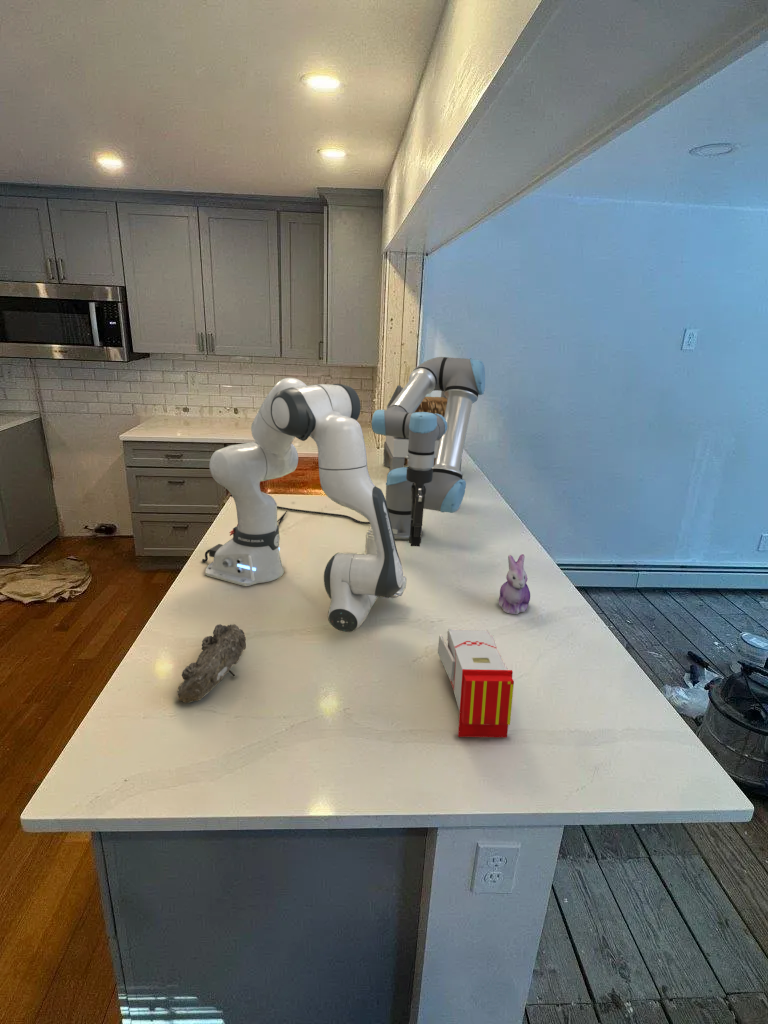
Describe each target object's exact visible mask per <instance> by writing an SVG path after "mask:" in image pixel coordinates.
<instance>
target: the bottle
mask: <svg viewBox="0 0 768 1024" xmlns="http://www.w3.org/2000/svg"><path fill="white" fill-rule="evenodd" d="M364 551H365V552H364V554H377V549H376V545H375V540H374V536H373V531H372V527H371V525H370V526H369V527H368V530H367V531H366V534H365V549H364Z"/></svg>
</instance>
